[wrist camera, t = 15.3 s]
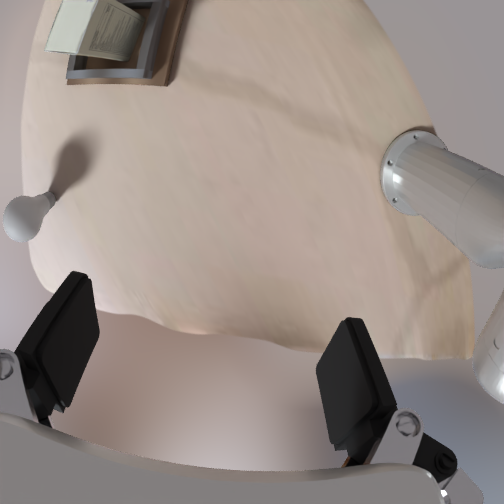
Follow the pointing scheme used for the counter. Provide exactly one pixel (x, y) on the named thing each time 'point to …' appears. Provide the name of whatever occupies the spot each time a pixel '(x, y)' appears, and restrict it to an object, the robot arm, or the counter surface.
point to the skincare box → (95, 29)
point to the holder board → (137, 49)
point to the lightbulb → (26, 215)
